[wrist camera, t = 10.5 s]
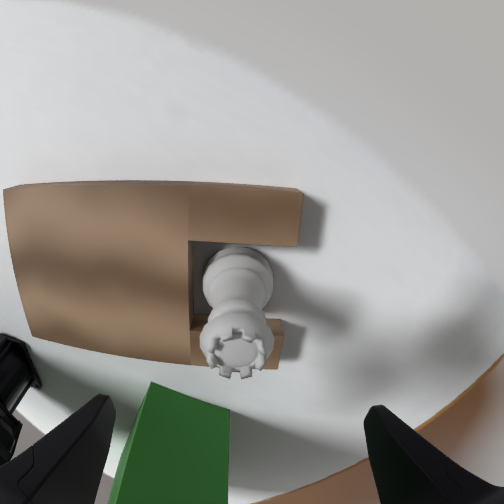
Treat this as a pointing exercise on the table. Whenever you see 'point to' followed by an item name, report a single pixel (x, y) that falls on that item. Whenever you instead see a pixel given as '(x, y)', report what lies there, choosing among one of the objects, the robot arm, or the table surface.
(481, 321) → the table surface
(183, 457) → the green open box
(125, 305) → the notched board
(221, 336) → the rook chess piece
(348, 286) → the table surface
